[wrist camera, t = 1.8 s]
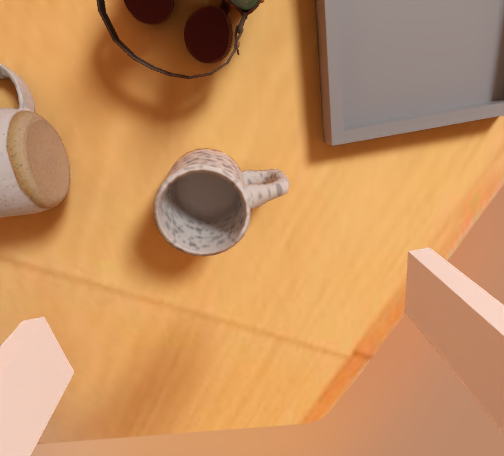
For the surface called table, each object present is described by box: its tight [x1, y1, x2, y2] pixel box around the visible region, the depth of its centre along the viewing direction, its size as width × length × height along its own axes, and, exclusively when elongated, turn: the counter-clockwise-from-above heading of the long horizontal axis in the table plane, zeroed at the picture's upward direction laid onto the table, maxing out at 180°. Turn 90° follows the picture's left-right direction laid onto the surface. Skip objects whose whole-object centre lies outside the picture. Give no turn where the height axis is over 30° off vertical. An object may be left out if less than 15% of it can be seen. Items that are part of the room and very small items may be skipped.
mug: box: [153, 148, 290, 256], centre depth 25 cm, size 10×7×7 cm
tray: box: [315, 0, 504, 146], centre depth 23 cm, size 16×16×2 cm
